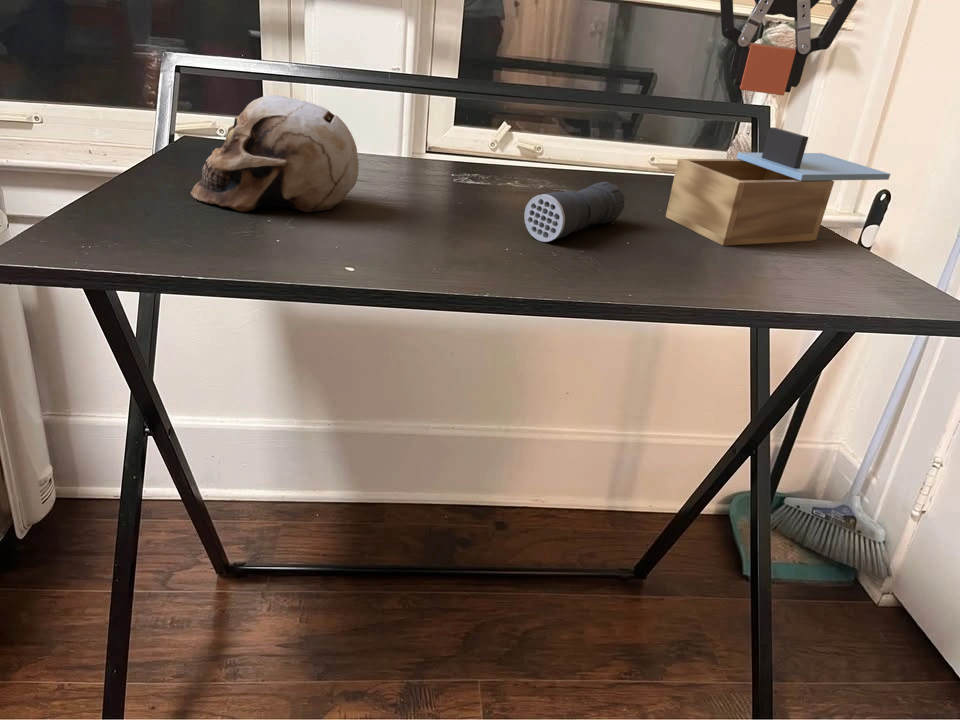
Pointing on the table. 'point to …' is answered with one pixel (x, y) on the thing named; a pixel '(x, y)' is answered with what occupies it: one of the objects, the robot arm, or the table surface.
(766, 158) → the sliding lid
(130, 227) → the table surface
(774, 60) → the block
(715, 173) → the oak box
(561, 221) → the flashlight
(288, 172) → the beige skull model
